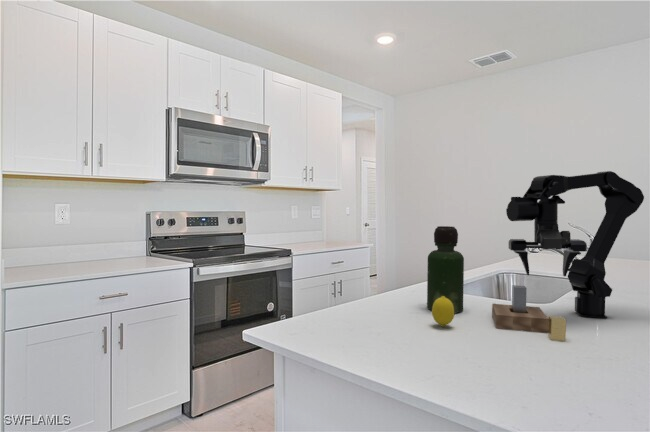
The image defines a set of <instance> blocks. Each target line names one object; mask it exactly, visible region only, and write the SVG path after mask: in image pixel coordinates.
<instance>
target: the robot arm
mask: <svg viewBox="0 0 650 432" xmlns="http://www.w3.org/2000/svg"><path fill="white" fill-rule="evenodd" d="M592 187H597V188H598V190H599V192H600V195H601V196H603V198H605V201H604V208H605V214H604V215H603V218H602V220H601V223H600V225H599V227H598V229H597V231H596V233H595V234H594V237H593V239H592V242H591V243H590V245H589V247H588V244H587V242H586V241H584V240H583V239H574V238H573V239H571V232H570V230H561V231H560V229H559V223H558V221H559V220H558V217H559V216H558V213H559V212H558V211H559V210H558V205H565V203H566V201H565V199H563V198H562V197H560V195H561V194H564V193H566V192H568V191H571V190H576V189H583V188H584V189H586V188H592ZM644 200H645V195H644V193H643V191H642V189H640V188H639V187H637V186H636V185H635V184H634V183H632V182H630V181H629V180H626V179H625V178H623V177H621V176H619V174H617V173H616V172H614V171H611V170H607V171H598V172H596V173H590V174H580V175H572V176H566V175H558V174H549V175H540V176H535V177H533V179H532V180H531V183H530V186H528V189H527V190H526V191H525V193H524V194H523V196H511V197H510V201H509V203H508V204H507V208H506V209H505V210H506V211H505V213H506V216H507V219H508V220H509V221H511V222H529V221H530V222H531V221H534V226H533V227H534V230H533V231H534V234H533V235H534V241H527V240H526V239H524V238H511V239H509V240H508V249H509V250H510V251H513V252H514V253H515V254H518V256H519V258H520V260H521V262H522V265H523V268H524V271H525V274H526V275H527V276H530V265H529V258H528V256H529V255H528V254H529V253H528V251H527V250H526V249H542V250H559V251H560V250H562V249H564V250H563V256H562V257H563V258H562V276H563V277H567V279H568V281H569V283H570V285H571V289H572V291H574V292H576V296H575V297H574V312H575V313H577V314H578V315H579V316H580V317H585V318H597V319H608V316H607V315H606V298H610V297H611V295H612V292H613V288H612V287H610V285H609V284H608V283H607V282H606V281H605V278H606V274H607V272H606V268H605V263H606V261H607V259H608V257H609V254H610V252H611V250H612V248H613V246H614V245H615V241H616V240H617V238H618V235H619V233H620V232H621V229H622V227H623V225H624V224H625V222H626V220H627V219H628V218H630V216H631V215H633V214H635V213H636V212H637V211H638V209H639V208H640V207H641V205H642V204H643V202H644ZM582 252H586V253H585V254H584V256H583V257H582V258H580V259H579V258H576V256H578V255H582Z"/></svg>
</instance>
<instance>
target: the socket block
mask: <svg viewBox="0 0 650 432" xmlns="http://www.w3.org/2000/svg"><path fill="white" fill-rule="evenodd" d="M491 306H492V307H491V315H492V320H493V324H494V327H495V329H501V330H510V331H511V330H512V331H521V330H523V331H524V332H532V331H533V333H534V332H535V333H546V334H548V324H549V316H547V314H546V313H545V312H544V311H543V310H542V308H540V306H527V305H526V313H515V312H512V304H501V303H492V304H491ZM523 331H522V332H523Z"/></svg>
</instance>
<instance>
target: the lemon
mask: <svg viewBox="0 0 650 432" xmlns="http://www.w3.org/2000/svg"><path fill="white" fill-rule="evenodd" d="M431 314H432V315H431V316H432V317H433V320H434V321H435V323H437V324H438V325H440V326H441V327H442V328H445V326H447V325H449V324H451V323H452V322H453V320H454V318H455V313H454V307H453V304H452V302H451V301H450V300H449V299H447V298H445V296H442V297H441V298H438V299H436V300H435V302H434V304H433V307H432V310H431Z"/></svg>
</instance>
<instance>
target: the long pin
mask: <svg viewBox="0 0 650 432" xmlns="http://www.w3.org/2000/svg"><path fill="white" fill-rule="evenodd" d="M511 305H512V312H515V313H526V306H527V287H526V286H525V285H516V284H515V285H513V284H512V286H511Z"/></svg>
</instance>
